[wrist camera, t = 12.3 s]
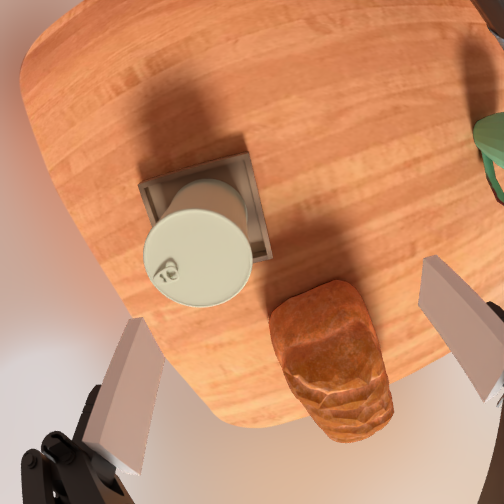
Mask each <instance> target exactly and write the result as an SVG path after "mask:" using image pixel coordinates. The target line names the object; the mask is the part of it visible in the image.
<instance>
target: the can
mask: <svg viewBox="0 0 504 504" xmlns="http://www.w3.org/2000/svg"><path fill="white" fill-rule="evenodd" d="M143 260H144V266H145V269H146V272H147V274H148V277H149V278H150V280H151V282H152V283H153V285H154V286H155V287H156V288H157V289H158V290H159V291H160V292H161V293H162V294H163V295H165V296H166V297H167V298H169V299H171V300H173V301H175V302H177V303H179V304H182V305H186V306H191V307H211V306H215V305H219V304H222V303H224V302H226V301H228V300H230V299H231V298H233V297H234V296H235V295H237V294H238V293H239V292H240V291H241V290H242V289H243V287H244V286H245V284H246V283H247V281H248V279H249V276H250V273H251V270H252V262H253V258H252V250H251V247H250V244H249V237H248V229H247V209H246V205H245V202H244V200H243V199H242V197H241V195H240V194H239V193H238V192H237V191H236V190H235V189H234V188H233V187H232V186H230V185H229V184H227V183H225V182H222V181H220V180H216V179H199V180H195V181H193V182H190V183H188V184H187V185H185V186H184V187H182V188H181V189H180V190H179V191H178V192H177V194H176V195H175V197H174V198H173V200H172V202H171V205H170V206H169V207H168V209H167V210H166V211H165V213H164V214H163V216H162V217H161V218H160V220H159V221H158V222H157V223H156V224H155V225H154V226H153V227H152V229H151V230H150V232H149V234H148V236H147V238H146V241H145V244H144V250H143Z"/></svg>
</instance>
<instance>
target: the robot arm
mask: <svg viewBox="0 0 504 504" xmlns="http://www.w3.org/2000/svg"><path fill="white" fill-rule="evenodd" d="M471 2H472V3H473V5H474V6H475V7H476V9H477V10H478V12H479V13H480V15H481V16H482V18H483V19H484V21H485V22H486V24H487V27H488V29H489V31H490V32H491V33H492V34H493V35H494V36H495V37H496V39H497V40H498V42H499V44H500V45H501V47H502V48H503V50H504V0H471ZM418 306H419V307H420V308H421V310H422V311H423V312H424V314H425V315H426V316H427V318H428V319H429V320H430V322H431V323H432V324H433V326H434V327H435V329H436V330H437V331H438V333H439V334H440V336H441V337H442V339H443V340H444V341H445V343H446V344H447V346H448V347H449V349H450V350H451V352H452V353H453V355H454V356H455V358H456V359H457V361H458V362H459V364H460V365H461V367H462V368H463V370H464V371H465V373H466V374H467V376H468V378H469V379H470V381H471V383H472V384H473V386H474V387H475V389H476V391H477V392H478V394H479V395H480V397H481V399H482V401H483V402H484V403H485V402H486V401H488V400H490V399H491V398H493V397H494V396H496V395H497V394H498V393H499V391H500V390H501V388H502V386H504V311H503V310H502V309H501V307H500V306H498V305H496V304H494V303H493V302H491V301H489V302H487V303H485V302H484V301H483V300H482V299H481V298H480V296H479V295H478V294H477V293H476V292H475V291H474V290H473V289H472V288H471V287H470V286H469V285H468V284H467V283H466V282H465V281H464V280H463V279H462V278H461V277H460V276H458V275H457V274H456V273H455V272H454V271H453V270H452V269H451V268H450V267H449V266H448V265H447V264H446V263H445V262H444V261H442V260H441V259H440V258H439V257H438V256H437V255H433V256H430V257H426V258H423V269H422V278H421V287H420V294H419V301H418ZM164 361H165V357H164V355H163V353H162V351H161V350H160V348H159V346H158V344H157V342H156V341H155V339H154V337H153V335H152V333H151V332H150V330H149V328H148V326H147V324H146V322H145V320H144V318H143V317H141V318H134V319H129V320H128V323H127V325H126V327H125V329H124V332H123V334H122V336H121V339H120V341H119V343H118V346H117V348H116V350H115V353H114V355H113V358H112V360H111V363H110V365H109V368H108V370H107V372H106V375H105V378H104V380H103V383H102V385H96V386H95V387H94V388H93V389H92V391H91V392H90V393H89V395H88V398H87V400H86V403H85V404H86V405H85V406H84V408H83V411H82V412H83V413H82V414H81V416H80V419H79V422H78V425H77V427H76V431H75V433H74V436H73V439H72V440H70V439H69V438H68V437H67V436H66V435H64V434H63V433H61V432H60V431H54V432H51V433H49V434H48V435H47V436H46V437H45V438H44V440H43V442H42V445H41V452H42V453H43V454H44V455H43V454H42V453H41V452H40V451H38V450H36V449H30V450H28V451H26V453H25V454H24V455H23V457H22V461H21V480H22V495H23V496H22V497H23V504H135V503H134V502H133V500H132V499H131V497H130V495H129V494H128V492H127V490H126V489H125V487H124V485H123V484H122V482H121V480H120V479H119V477H118V476H117V475H116V474H115V471H116V468H117V469H119V470H120V471H122V472H123V473H127V474H134V475H141V470H142V465H143V459H144V454H145V448H146V443H147V438H148V433H149V428H150V423H151V418H152V413H153V408H154V404H155V399H156V395H157V391H158V386H159V382H160V378H161V374H162V369H163V365H164ZM502 401H503V404H502V411H501V417H500V423H499V428H498V434H497V439H496V443H495V447H494V452H493V456H492V460H491V463H490V467H489V471H488V475H487V477H486V480H485V483H484V486H483V489H482V492H481V495H480V498H479V501H478V504H504V394H503V396H502V397H501V399H500V400H499V401H498V403H497V406H496V407H499V406H500V404H501V403H502ZM53 491H54V492H55V493H56V497H54V496H53Z"/></svg>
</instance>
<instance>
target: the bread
mask: <svg viewBox="0 0 504 504" xmlns="http://www.w3.org/2000/svg"><path fill="white" fill-rule="evenodd" d="M269 328H270V335H271V341H272V344H273V348H274V351H275V354H276V356H277V359H278V361H279V363H280V365H281V367H282V370H283V373H284V375H285V378H286V380H287V383H288V385H289V387H290V389H291V391H292V393H293V394H294V395H295V397H296V398H297V399H299V400H300V402H301V403H302V404H303V405H304V407H305V408H306V410H307V411H308V413H309V414H310V416H311V417H312V418H313V420H314V421H315V422H316V423H317V425H318V426H319V427H320V428H321V429H322V430H323V431H324V432H325V433H326V434H327V435H328V437H329V438H330V439H332V440H334V441H336V442H340V443H351V442H356V441H360V440H363V439H365V438H368V437H370V436H372V435H373V434H374V433H375V432H376V431H379V430H381V429H382V428H383V427H384V426H386V425H387V424H388V422H389V421H390V419H391V417H392V416H393V413H394V408H393V402H392V396H391V392H390V390H389V380H388V376H387V374H386V370H385V366H384V362H383V358H382V353H381V350H380V345H379V342H378V338H377V335H376V333H375V330H374V327H373V324H372V322H371V319H370V317H369V314H368V311H367V309H366V307H365V304H364V302H363V299H362V297H361V296H360V294H359V293H358V291H357V289H356V288H355V287H353V286H352V285H351V284H349V283H348V282H345V281H341V280H333V281H331V282H328V283H326V284H323V285H321V286H318V287H316V288H314V289H312V290H309V291H307V292H305V293H303V294H300V295H298V296H295V297H291V298H289V299H288V300H286V301H285V302H284V303H282V304H281V305H280V306H279V307H277V308H276V309H275V310H274V311H273V312H272V314H271V317H270V320H269Z"/></svg>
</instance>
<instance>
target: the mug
mask: <svg viewBox="0 0 504 504" xmlns="http://www.w3.org/2000/svg"><path fill="white" fill-rule="evenodd" d="M473 138H474V142H475V144H476V146H477V147H478V148H479V149H480V150H481V154H482V158H483V163H484V168H485V173H486V178H487V180H488V182H489V185H490V187H491V189H492V191H493V193H494V195H495V198H496V200H497V202H499V203H500V204H502V205H503V206H504V192H503V190H502V189H501V187H500V185H499V183H498V181H497V179H496V176H495V171H494V166H493V162H495V163H496V164H497V165H498V166H500V167H502V168H503V169H504V112H501V113H496V114H493V115H490V116H487V117H485V118H483V119H481V120H479V121H477V122H476V124H475V126H474V129H473Z"/></svg>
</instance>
